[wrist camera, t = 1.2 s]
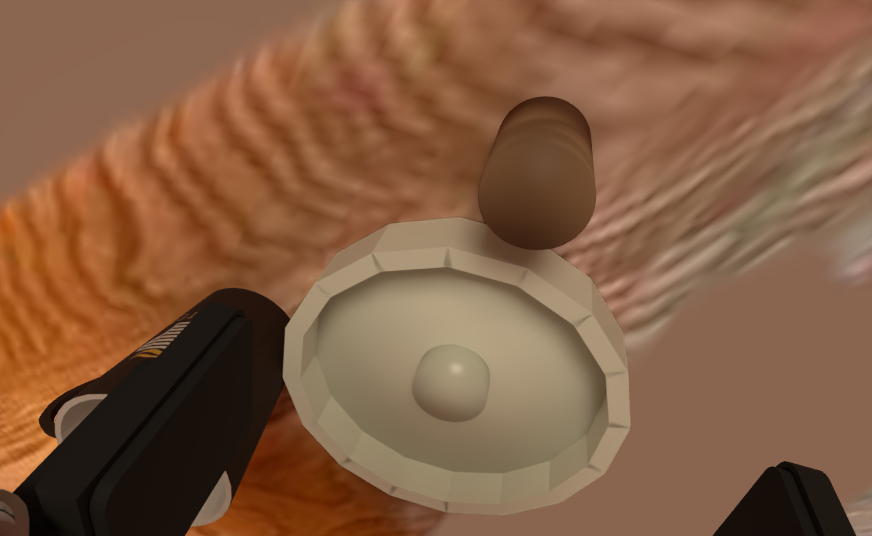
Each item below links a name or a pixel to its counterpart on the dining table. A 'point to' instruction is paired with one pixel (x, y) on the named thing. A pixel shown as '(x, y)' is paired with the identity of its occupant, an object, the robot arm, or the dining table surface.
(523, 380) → the tray
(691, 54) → the dining table surface
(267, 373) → the coffee mug
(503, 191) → the cylinder
